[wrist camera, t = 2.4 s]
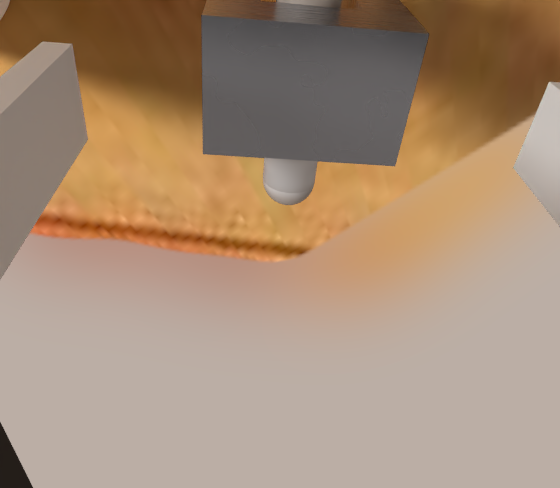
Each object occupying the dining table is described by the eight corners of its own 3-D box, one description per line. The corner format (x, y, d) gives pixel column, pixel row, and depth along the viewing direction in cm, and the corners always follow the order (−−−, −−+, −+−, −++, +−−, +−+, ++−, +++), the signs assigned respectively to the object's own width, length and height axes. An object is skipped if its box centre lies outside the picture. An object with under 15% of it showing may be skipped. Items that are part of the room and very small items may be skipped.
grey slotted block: (224, -50, 21) (201, 14, 13) (367, -37, 21) (429, 34, 13) (223, 49, 23) (202, 154, 15) (351, 59, 24) (395, 166, 16)
